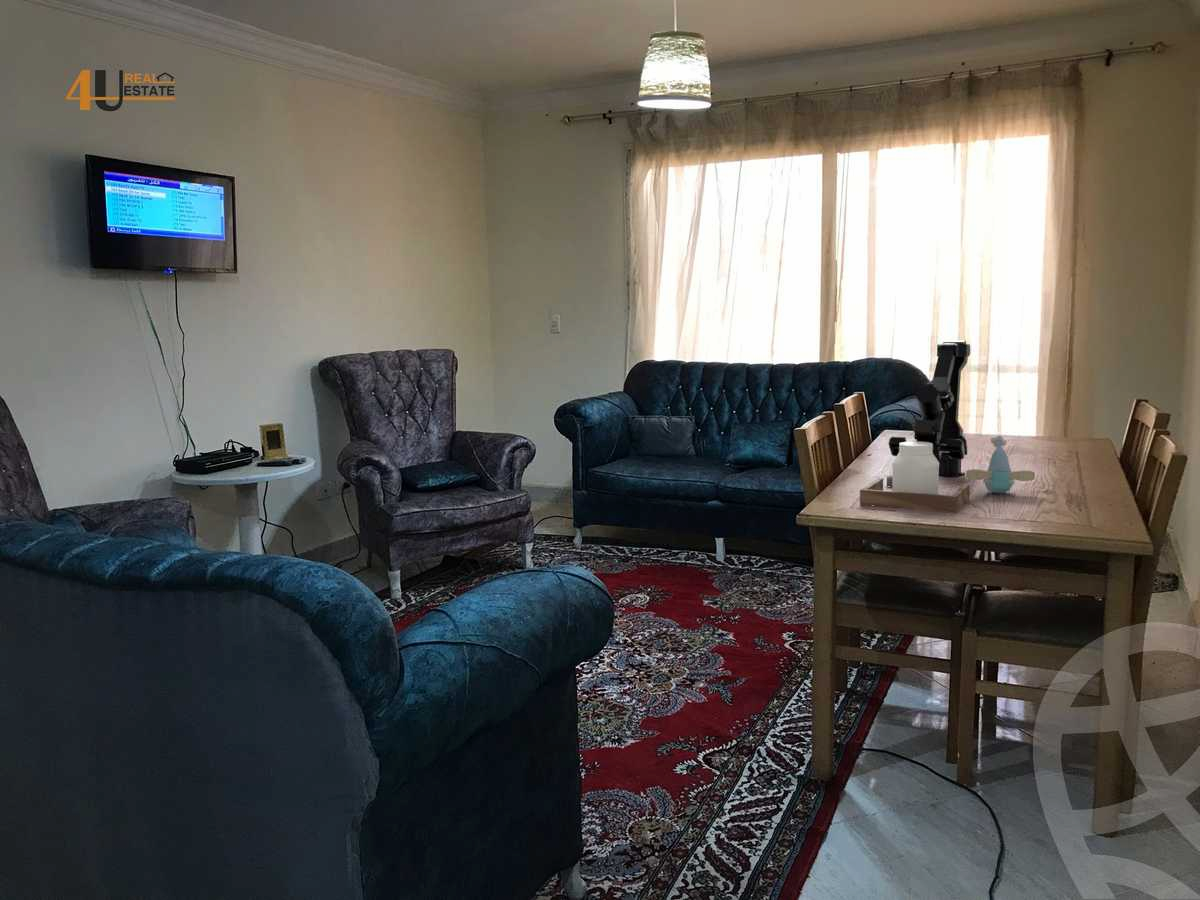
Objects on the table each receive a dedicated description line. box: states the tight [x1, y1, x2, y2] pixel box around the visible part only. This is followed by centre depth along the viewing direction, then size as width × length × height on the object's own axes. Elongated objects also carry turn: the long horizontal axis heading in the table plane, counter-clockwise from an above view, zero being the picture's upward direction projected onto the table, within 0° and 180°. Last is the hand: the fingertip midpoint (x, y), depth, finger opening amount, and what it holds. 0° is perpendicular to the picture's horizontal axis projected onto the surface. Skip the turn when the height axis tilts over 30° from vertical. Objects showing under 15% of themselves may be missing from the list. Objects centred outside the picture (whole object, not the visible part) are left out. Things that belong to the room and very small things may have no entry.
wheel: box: [886, 474, 893, 488], centre depth 266 cm, size 6×6×3 cm
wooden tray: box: [859, 477, 971, 514], centre depth 244 cm, size 18×23×4 cm
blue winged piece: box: [965, 434, 1036, 494], centre depth 251 cm, size 17×10×15 cm, turn 71°
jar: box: [891, 440, 940, 495], centre depth 245 cm, size 12×10×15 cm
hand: (920, 473), depth 248 cm, fingers closed
